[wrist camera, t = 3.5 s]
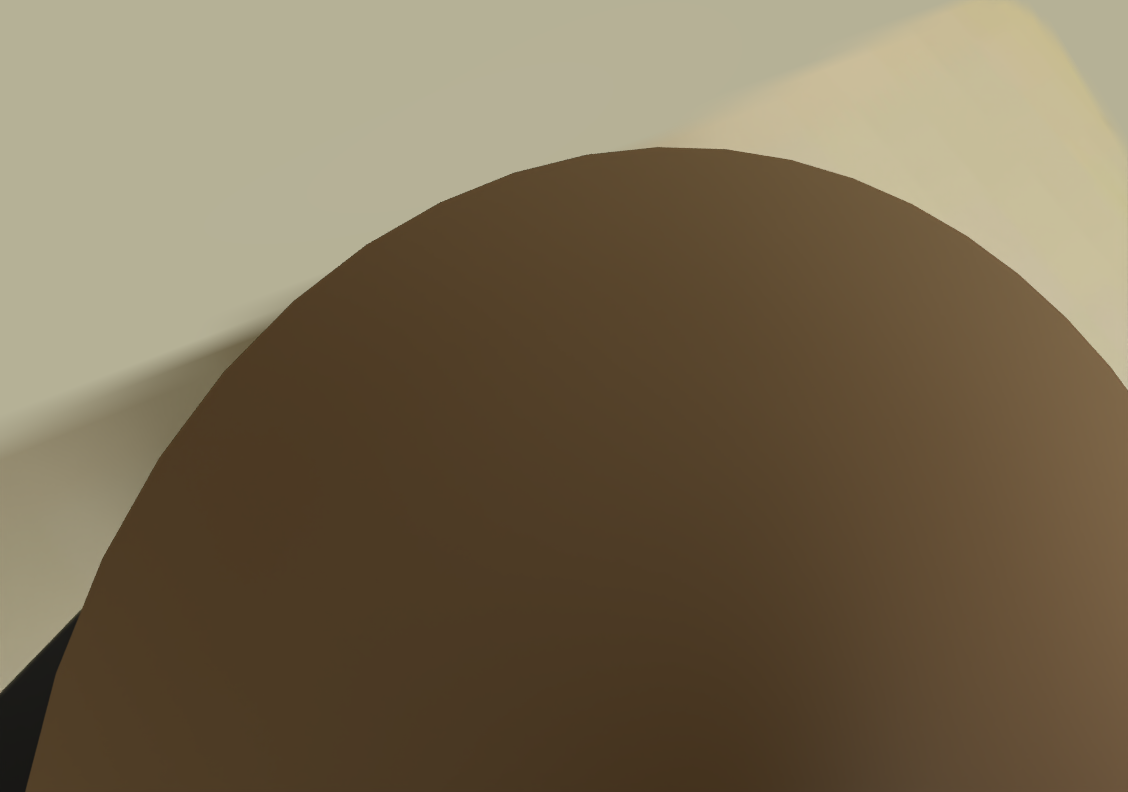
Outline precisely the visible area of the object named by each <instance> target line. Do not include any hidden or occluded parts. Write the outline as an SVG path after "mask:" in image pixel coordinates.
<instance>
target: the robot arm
mask: <svg viewBox="0 0 1128 792" xmlns="http://www.w3.org/2000/svg"><path fill="white" fill-rule="evenodd" d="M81 610H82V609H81ZM81 610H80V611H79V612H78V613H77V614H76V615H75V617H74V618H73V619H72V620H71V621H70V622H69V623H68V624H67V625H66V626H65V627H64V628H63V629H62V630H61V631H60V632H59V633H58V634H57V635H56V636H55V637H54V638H53V639H52V640H51V641H50V642H49V643H48V644H47V645H46V646H45V648H44V649H43V650H42V651H41V652H40V653H39V654H38V655H37V656H36V657H35V658H34V659H33V660H32V661H31V662H30V663H29V664H28V665H27V666H26V667H25V668H24V669H23V670H22V671H21V672H20V673H19V674H18V675H17V676H16V677H15V679H14V680H13V681H12V682H11V683H10V684H9V685H8V686H7V687H6V688H5V689H4V690H3V691H2V692H1V693H0V792H25V791H26V787H27V783H28V779H29V776H30V772H31V768H32V764H33V760H34V756H35V752H36V749H37V745H38V741H39V737H40V733H41V729H42V726H43V722H44V718H45V714H46V710H47V706H48V702H49V699H50V695H51V691H52V687H53V683H54V679H55V676H56V672H57V670H58V667H59V665H60V662H61V660H62V657H63V655H64V653H65V650H66V648H67V645H68V643H69V640H70V638H71V635H72V633H73V630H74V628H75V625H76V623H77V620H78V618H79V615H80V613H81Z"/></svg>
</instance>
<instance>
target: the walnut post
mask: <svg viewBox="0 0 1128 792" xmlns="http://www.w3.org/2000/svg"><path fill="white" fill-rule="evenodd" d="M25 792H1128V390H1127V389H1126V387H1125V386H1124V385H1123V383H1122V382H1121V381H1120V379H1119V378H1118V377H1117V375H1116V374H1115V372H1114V371H1113V370H1112V368H1111V367H1110V366H1109V365H1108V364H1107V363H1106V361H1105V360H1104V359H1103V358H1102V357H1101V356H1100V355H1099V354H1098V353H1097V351H1096V350H1095V349H1094V348H1093V347H1092V346H1091V345H1090V344H1089V343H1088V341H1087V340H1086V339H1085V338H1084V337H1083V336H1082V335H1081V334H1080V333H1079V331H1078V330H1077V329H1076V328H1075V327H1074V326H1073V325H1072V324H1071V323H1070V321H1069V320H1068V319H1067V318H1066V317H1065V316H1064V315H1063V314H1062V313H1060V312H1059V311H1058V310H1057V309H1056V308H1055V307H1054V306H1053V305H1052V304H1051V303H1049V302H1048V301H1047V300H1046V299H1045V298H1044V297H1043V296H1042V295H1041V294H1040V293H1039V292H1037V291H1036V290H1035V289H1034V288H1033V287H1032V286H1031V285H1030V284H1029V283H1028V282H1027V281H1025V280H1024V279H1023V278H1022V277H1021V276H1020V275H1019V274H1018V273H1016V272H1015V271H1013V270H1012V269H1011V268H1009V267H1008V266H1007V265H1005V264H1004V263H1003V262H1001V261H1000V260H999V259H997V258H996V257H995V256H993V255H992V254H990V253H989V252H988V251H986V250H985V249H984V248H982V247H981V246H980V245H978V244H977V243H976V242H974V241H973V240H972V239H970V238H969V237H967V236H966V235H964V234H962V233H961V232H959V231H957V230H956V229H954V228H952V227H950V226H949V225H947V224H945V223H943V222H942V221H940V220H938V219H937V218H935V217H933V216H931V215H930V214H928V213H926V212H925V211H923V210H921V209H919V208H918V207H916V206H914V205H913V204H910V203H908V202H906V201H904V200H901V199H899V198H897V197H894V196H892V195H890V194H887V193H885V192H883V191H881V190H878V189H876V188H874V187H871V186H869V185H867V184H865V183H862V182H860V181H858V180H855V179H853V178H850V177H846V176H843V175H840V174H836V173H833V172H829V171H826V170H823V169H819V168H816V167H813V166H809V165H806V164H803V163H799V162H796V161H793V160H788V159H782V158H775V157H769V156H763V155H757V154H751V153H745V152H739V151H733V150H727V149H697V148H664V147H655V148H646V149H637V150H627V151H618V152H608V153H599V154H589V155H584V156H580V157H576V158H572V159H568V160H564V161H560V162H556V163H552V164H548V165H544V166H540V167H536V168H532V169H527V170H523V171H520V172H515V173H512V174H510V175H507V176H505V177H503V178H500V179H498V180H495V181H492V182H490V183H488V184H485V185H483V186H480V187H478V188H475V189H473V190H470V191H468V192H465V193H463V194H460V195H458V196H455V197H453V198H450V199H448V200H445V201H443V202H440V203H439V204H437V205H435V206H433V207H432V208H430V209H428V210H426V211H425V212H423V213H421V214H419V215H418V216H416V217H414V218H412V219H411V220H409V221H407V222H405V223H404V224H402V225H400V226H398V227H397V228H395V229H393V230H392V231H390V232H388V233H386V234H385V235H383V236H381V237H379V238H378V239H376V240H374V241H372V242H371V243H369V244H367V245H366V246H364V247H363V248H362V249H361V250H359V251H358V252H357V253H355V254H354V255H353V256H351V257H350V258H349V259H348V260H346V261H345V262H344V263H342V264H341V265H340V266H338V267H337V268H336V269H335V270H333V271H332V272H331V273H329V274H328V275H327V276H325V277H324V278H323V279H322V280H320V281H319V282H318V283H316V284H315V285H314V286H313V287H311V288H310V289H309V290H307V291H306V292H305V293H304V294H302V295H301V296H300V297H298V298H297V299H296V300H294V301H293V302H292V303H291V304H290V305H289V306H288V307H287V308H286V309H285V310H284V311H283V312H282V313H281V314H280V315H279V317H278V318H277V319H276V320H275V321H274V322H273V323H272V324H271V325H270V326H269V327H268V328H267V329H266V330H265V331H264V332H263V333H262V334H261V335H260V336H259V337H258V338H257V339H256V340H255V341H254V342H253V343H252V344H251V345H250V346H249V347H248V348H247V349H246V350H245V351H244V352H243V353H242V354H241V355H240V356H239V357H238V358H237V359H236V360H235V361H234V362H233V363H232V364H231V365H230V366H229V367H228V368H227V369H226V370H225V371H224V373H223V374H222V375H221V377H220V378H219V379H218V381H217V382H216V383H215V384H214V386H213V387H212V388H211V390H210V391H209V392H208V394H207V395H206V396H205V398H204V399H203V400H202V402H201V403H200V404H199V406H198V407H197V408H196V410H195V411H194V412H193V414H192V415H191V416H190V418H189V419H188V420H187V422H186V423H185V424H184V426H183V427H182V428H181V430H180V431H179V432H178V434H177V435H176V436H175V438H174V439H173V440H172V442H171V443H170V444H169V446H168V447H167V448H166V450H165V451H164V452H163V454H162V455H161V456H160V458H159V459H158V461H157V463H156V465H155V466H154V468H153V470H152V472H151V474H150V475H149V477H148V479H147V481H146V482H145V484H144V486H143V488H142V489H141V491H140V493H139V495H138V497H137V498H136V500H135V502H134V504H133V505H132V507H131V509H130V511H129V512H128V514H127V516H126V518H125V520H124V521H123V523H122V525H121V527H120V528H119V530H118V532H117V534H116V536H115V537H114V539H113V541H112V543H111V544H110V546H109V548H108V550H107V551H106V553H105V555H104V557H103V559H102V561H101V564H100V566H99V568H98V571H97V573H96V576H95V578H94V581H93V583H92V586H91V588H90V591H89V593H88V596H87V598H86V601H85V603H84V606H83V608H82V610H81V613H80V615H79V618H78V620H77V623H76V625H75V628H74V630H73V633H72V635H71V638H70V640H69V643H68V645H67V648H66V650H65V653H64V655H63V657H62V660H61V662H60V665H59V667H58V670H57V672H56V676H55V679H54V683H53V687H52V691H51V695H50V699H49V702H48V706H47V710H46V714H45V718H44V722H43V726H42V729H41V733H40V737H39V741H38V745H37V749H36V752H35V756H34V760H33V764H32V768H31V772H30V776H29V779H28V783H27V787H26V791H25Z"/></svg>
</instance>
